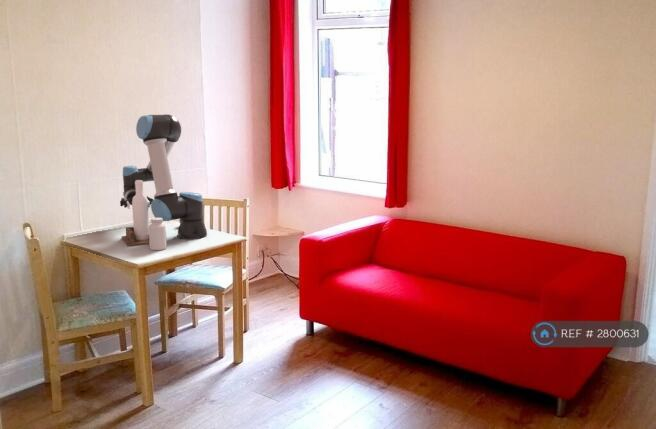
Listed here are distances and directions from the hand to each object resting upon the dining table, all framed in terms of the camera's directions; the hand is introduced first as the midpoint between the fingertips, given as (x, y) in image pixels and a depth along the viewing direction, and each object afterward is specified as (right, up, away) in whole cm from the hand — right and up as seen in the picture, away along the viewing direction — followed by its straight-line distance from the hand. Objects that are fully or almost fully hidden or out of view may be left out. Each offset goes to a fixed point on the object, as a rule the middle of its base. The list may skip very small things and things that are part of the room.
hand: (139, 205), depth 305 cm
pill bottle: (+12, -21, -9) cm, 26 cm away
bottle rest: (0, -18, +6) cm, 19 cm away
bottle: (0, -17, +6) cm, 18 cm away
